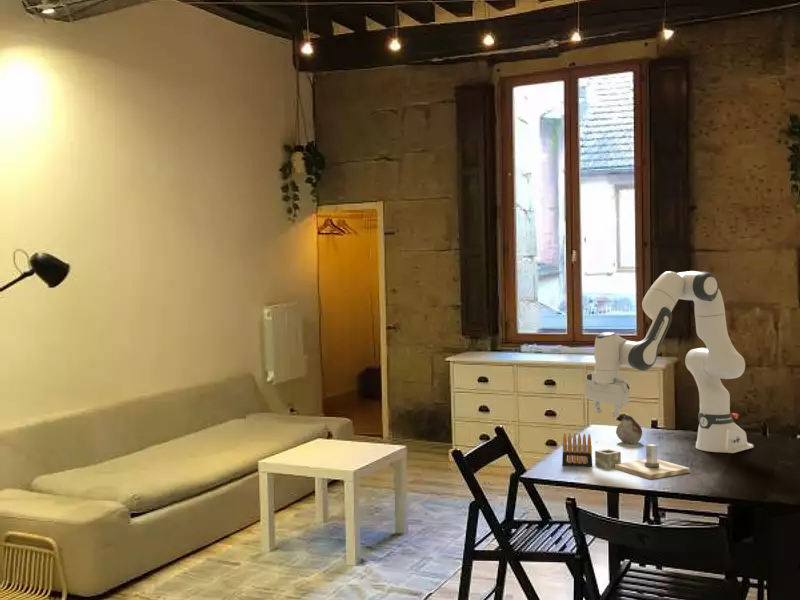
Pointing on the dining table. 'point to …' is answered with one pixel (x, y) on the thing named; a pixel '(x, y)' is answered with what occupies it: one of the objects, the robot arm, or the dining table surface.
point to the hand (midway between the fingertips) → (607, 415)
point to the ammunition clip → (577, 452)
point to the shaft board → (652, 466)
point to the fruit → (629, 430)
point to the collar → (607, 458)
